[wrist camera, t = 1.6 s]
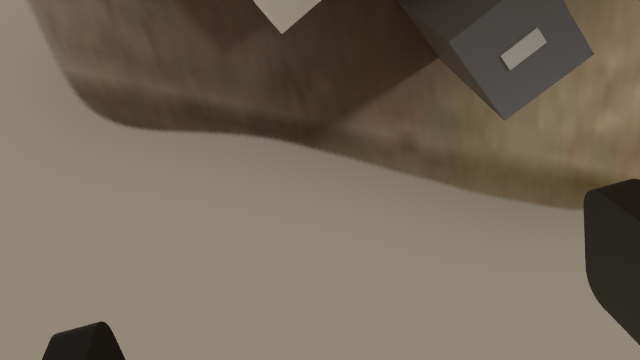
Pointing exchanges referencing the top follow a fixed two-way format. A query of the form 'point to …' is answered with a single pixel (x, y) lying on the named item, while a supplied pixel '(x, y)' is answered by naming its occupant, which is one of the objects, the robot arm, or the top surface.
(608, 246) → the robot arm
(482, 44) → the grey rectangular block
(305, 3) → the switch board
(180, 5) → the top surface
